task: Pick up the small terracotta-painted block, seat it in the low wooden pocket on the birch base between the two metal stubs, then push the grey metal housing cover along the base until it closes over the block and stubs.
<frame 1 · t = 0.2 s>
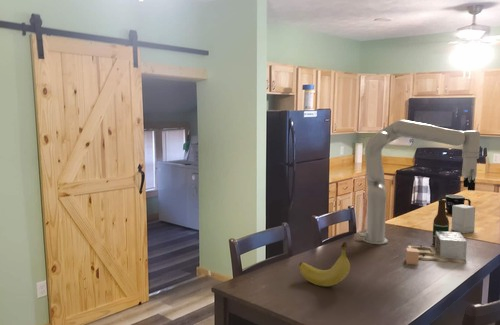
hand: (468, 188, 211), 31 cm above the table, tool pointing down, fingers open, 9 cm apart
housing cover: (450, 244, 202), point 6 cm above the table, slide at 0.0 cm
supplement box: (462, 231, 247), on the table
beer bottle: (440, 244, 221), on the table
housing base: (435, 254, 204), on the table
banana: (323, 285, 168), on the table
mug: (454, 213, 292), on the table
jaw block: (411, 262, 194), on the table
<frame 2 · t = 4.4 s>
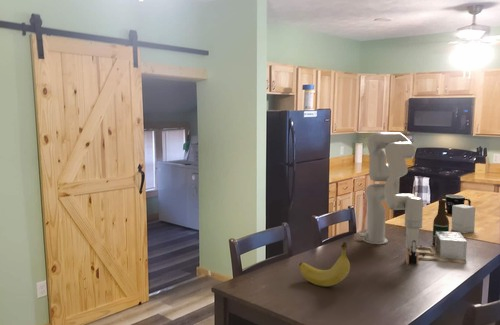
hand: (412, 261, 194), 0 cm above the table, tool pointing down, fingers closed on jaw block, 5 cm apart
jaw block: (411, 262, 194), on the table, touching gripper
everything else where it was.
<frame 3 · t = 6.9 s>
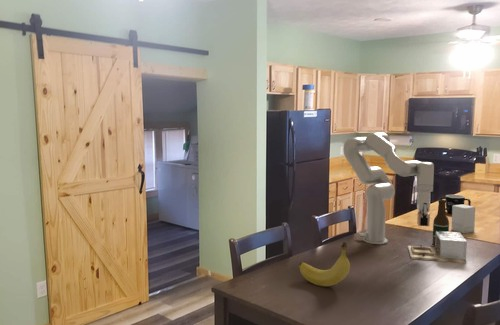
hand: (423, 223, 204), 15 cm above the table, tool pointing down, fingers closed on jaw block, 5 cm apart
jaw block: (423, 224, 204), point 15 cm above the table, touching gripper
everything else where it was.
when the fingers open (3 cm above the table, at t = 9.5 s): jaw block drops 2 cm, resting on housing base.
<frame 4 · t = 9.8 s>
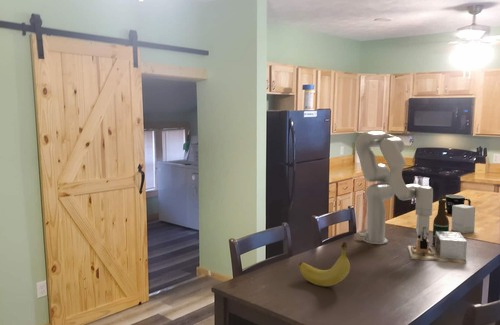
hand: (422, 245, 205), 4 cm above the table, tool pointing down, fingers open, 8 cm apart
jaw block: (422, 251, 206), point 1 cm above the table, touching housing base
everything else where it was.
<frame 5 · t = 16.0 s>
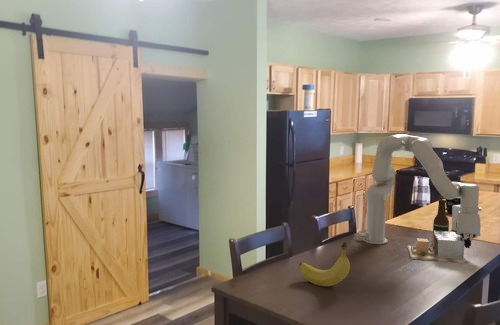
hand: (467, 247, 200), 5 cm above the table, tool pointing down, fingers closed
housing cover: (448, 244, 202), point 6 cm above the table, slide at 1.0 cm, touching gripper
everything else where it was.
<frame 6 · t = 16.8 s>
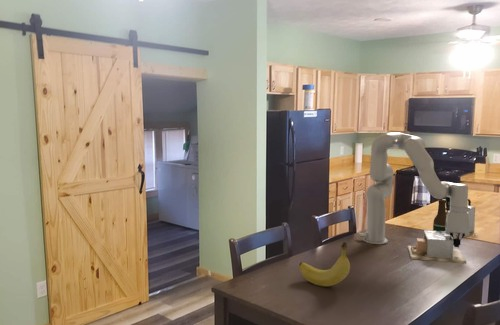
hand: (456, 246, 201), 5 cm above the table, tool pointing down, fingers closed
housing cover: (437, 243, 203), point 6 cm above the table, slide at 5.7 cm, touching gripper
everything else where it was.
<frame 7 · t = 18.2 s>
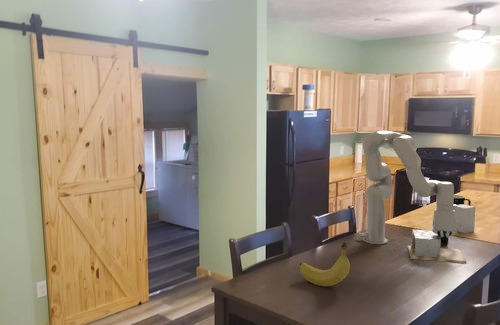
hand: (444, 244, 202), 6 cm above the table, tool pointing down, fingers closed
housing cover: (425, 243, 205), point 6 cm above the table, slide at 11.1 cm, touching gripper
everything else where it was.
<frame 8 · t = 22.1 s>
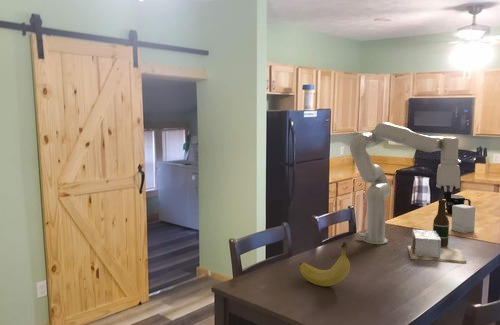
hand: (447, 199, 204), 27 cm above the table, tool pointing down, fingers closed
housing cover: (425, 243, 205), point 6 cm above the table, slide at 11.0 cm
everything else where it was.
at the end: jaw block 0.1 cm from the target spot on the housing base, point 1.0 cm above the housing base's base; housing cover slide at 11.0 cm; the gripper is holding nothing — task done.
